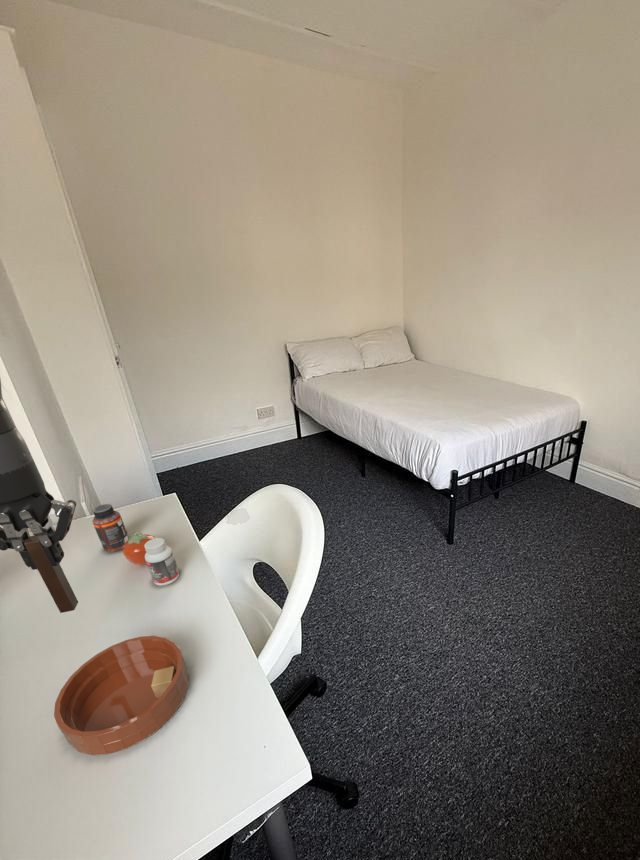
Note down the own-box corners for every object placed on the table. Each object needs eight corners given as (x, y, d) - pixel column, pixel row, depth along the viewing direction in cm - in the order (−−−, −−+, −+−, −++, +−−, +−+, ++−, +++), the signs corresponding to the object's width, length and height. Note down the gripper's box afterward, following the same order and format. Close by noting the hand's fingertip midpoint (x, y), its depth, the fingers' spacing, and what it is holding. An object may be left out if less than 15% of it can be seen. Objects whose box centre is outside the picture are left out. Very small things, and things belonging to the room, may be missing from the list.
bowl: (48, 774, 57) (33, 753, 55) (87, 671, 72) (76, 651, 70) (183, 734, 62) (174, 713, 59) (194, 645, 77) (187, 625, 74)
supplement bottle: (136, 542, 107) (122, 504, 102) (114, 555, 102) (98, 516, 97) (120, 537, 109) (106, 499, 104) (98, 549, 104) (82, 511, 99)
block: (156, 698, 67) (150, 686, 65) (159, 682, 69) (154, 670, 68) (176, 693, 67) (171, 680, 66) (178, 677, 70) (174, 665, 68)
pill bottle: (148, 586, 92) (134, 550, 87) (162, 570, 96) (149, 535, 92) (171, 586, 91) (159, 550, 87) (184, 570, 96) (173, 535, 91)
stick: (60, 613, 68) (23, 543, 61) (64, 604, 69) (29, 536, 63) (74, 610, 68) (39, 541, 61) (78, 601, 70) (44, 533, 63)
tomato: (131, 554, 102) (121, 527, 98) (164, 548, 104) (155, 521, 100) (124, 573, 96) (113, 545, 92) (159, 566, 98) (149, 538, 94)
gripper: (65, 446, 62) (104, 542, 69) (-48, 460, 58) (7, 559, 66) (44, 467, 55) (90, 570, 63) (-84, 483, 52) (-18, 590, 60)
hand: (47, 564), depth 64 cm, fingers closed on stick, 2 cm apart
